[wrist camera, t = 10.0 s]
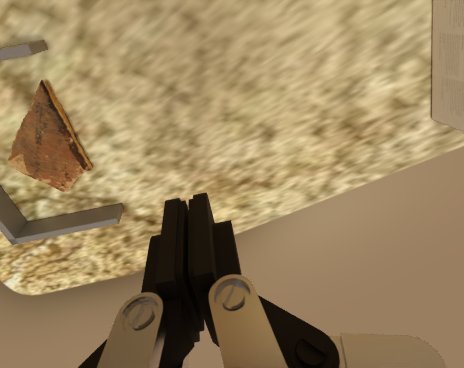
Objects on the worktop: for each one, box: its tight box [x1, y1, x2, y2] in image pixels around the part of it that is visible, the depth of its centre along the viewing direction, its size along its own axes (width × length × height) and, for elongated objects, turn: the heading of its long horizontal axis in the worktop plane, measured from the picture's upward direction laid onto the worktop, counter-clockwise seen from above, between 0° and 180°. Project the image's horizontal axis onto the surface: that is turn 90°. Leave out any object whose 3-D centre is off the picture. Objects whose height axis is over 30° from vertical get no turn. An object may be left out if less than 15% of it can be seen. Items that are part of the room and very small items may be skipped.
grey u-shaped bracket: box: [0, 40, 124, 245], centre depth 29 cm, size 20×13×3 cm, turn 9°
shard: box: [8, 80, 93, 192], centre depth 30 cm, size 11×8×2 cm
